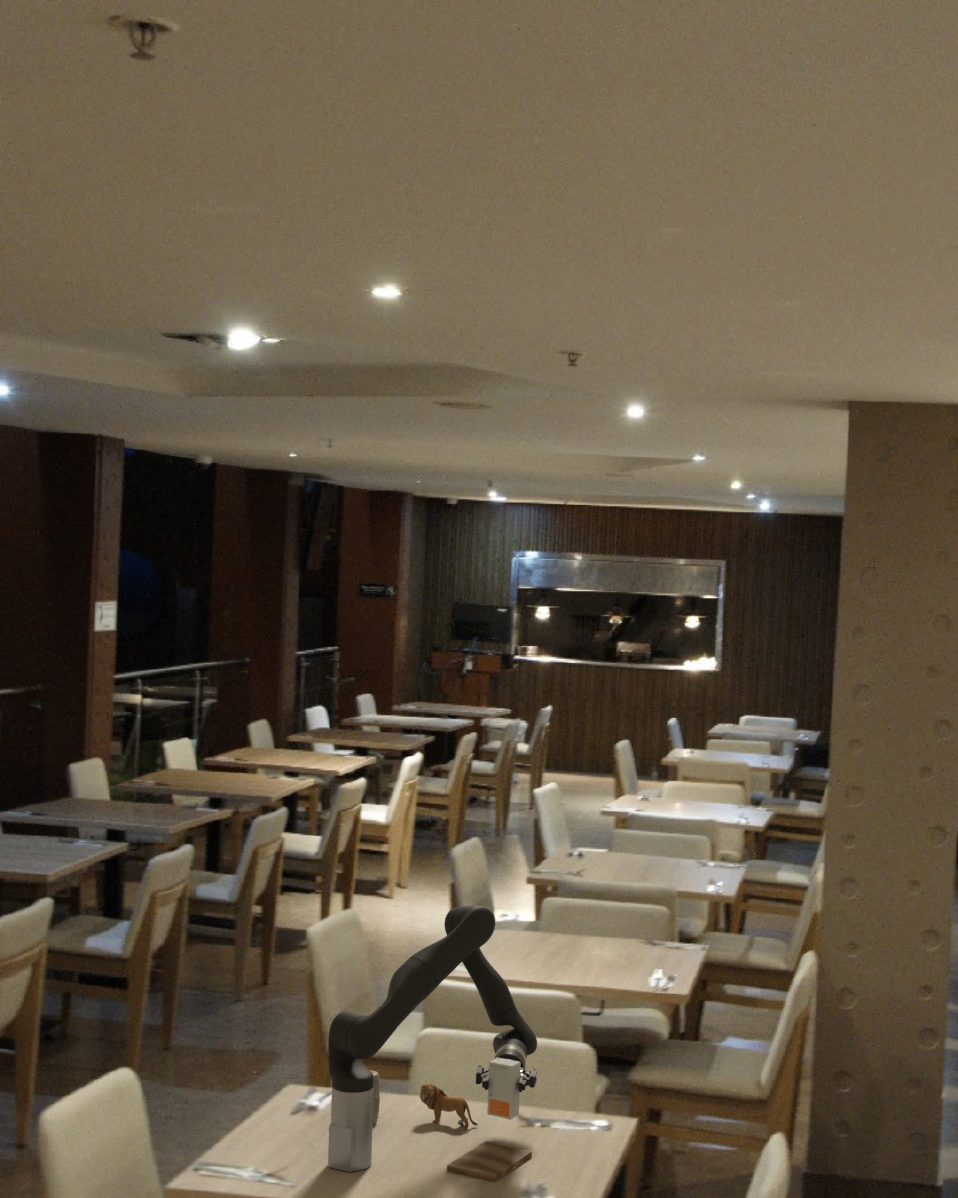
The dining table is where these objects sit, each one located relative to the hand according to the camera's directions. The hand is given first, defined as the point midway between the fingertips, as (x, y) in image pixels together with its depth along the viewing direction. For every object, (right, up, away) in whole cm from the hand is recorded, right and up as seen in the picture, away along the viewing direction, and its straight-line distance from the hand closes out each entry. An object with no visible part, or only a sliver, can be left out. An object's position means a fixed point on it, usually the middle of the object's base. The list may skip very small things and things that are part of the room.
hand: (503, 1086), depth 346 cm
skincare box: (0, -7, +2) cm, 8 cm away
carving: (-33, -18, +29) cm, 47 cm away
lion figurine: (-13, -18, +30) cm, 38 cm away
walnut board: (-3, -18, +4) cm, 19 cm away
